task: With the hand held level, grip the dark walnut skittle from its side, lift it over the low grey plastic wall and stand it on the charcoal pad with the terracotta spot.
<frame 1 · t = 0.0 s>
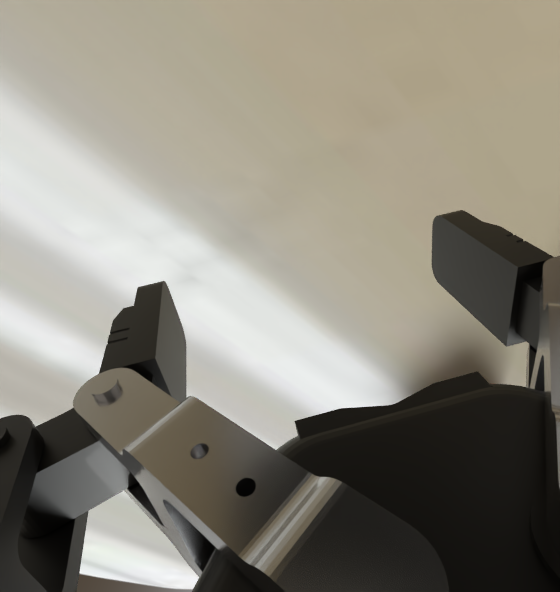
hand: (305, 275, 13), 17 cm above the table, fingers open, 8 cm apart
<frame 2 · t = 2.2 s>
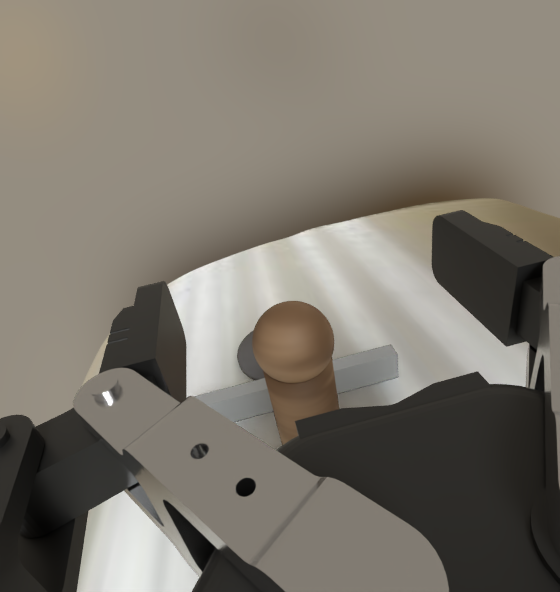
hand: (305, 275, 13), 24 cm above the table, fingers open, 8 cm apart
low wall: (297, 398, 41), on the table
skittle: (317, 463, 35), on the table
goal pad: (282, 351, 48), on the table
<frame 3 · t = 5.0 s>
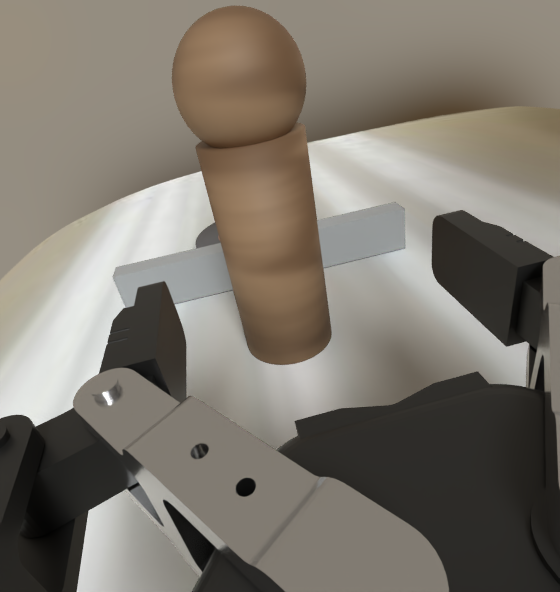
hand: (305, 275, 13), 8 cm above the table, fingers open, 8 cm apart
low wall: (268, 275, 31), on the table
skittle: (289, 336, 24), on the table
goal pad: (254, 236, 37), on the table
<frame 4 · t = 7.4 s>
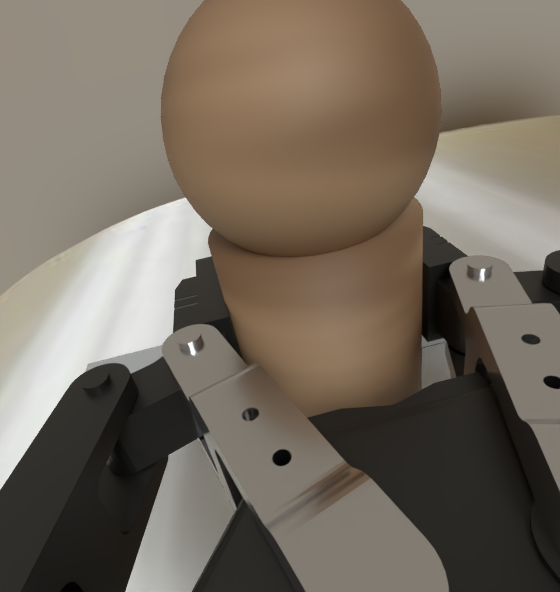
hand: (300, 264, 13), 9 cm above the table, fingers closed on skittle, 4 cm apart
low wall: (304, 368, 22), on the table
skittle: (350, 500, 15), on the table, touching gripper
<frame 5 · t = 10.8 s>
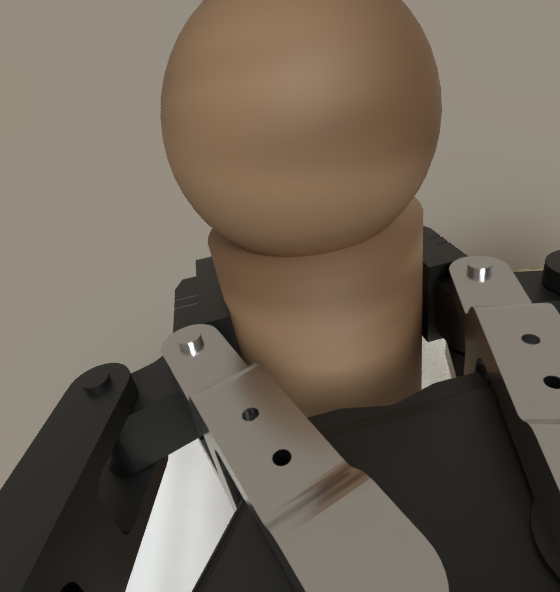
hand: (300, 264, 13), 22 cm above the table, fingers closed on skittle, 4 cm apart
skittle: (350, 500, 15), point 13 cm above the table, touching gripper
when the fingers open (10 cm above the table, at t = 14.0 s): skittle drops 1 cm, resting on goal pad.
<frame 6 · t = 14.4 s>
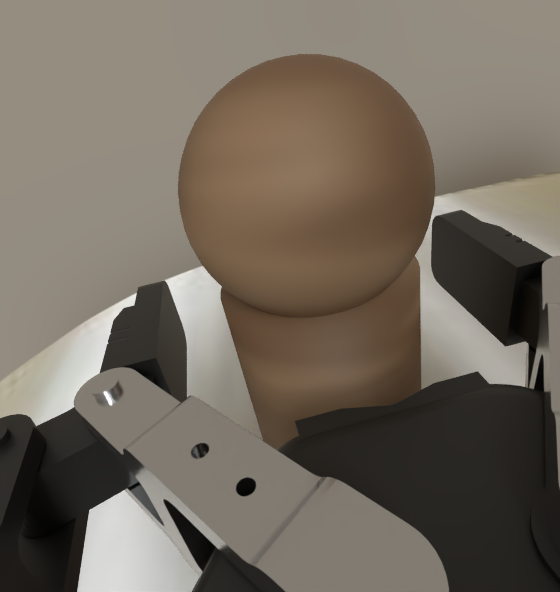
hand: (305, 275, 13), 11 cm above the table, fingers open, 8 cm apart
skittle: (355, 524, 16), point 1 cm above the table, touching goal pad
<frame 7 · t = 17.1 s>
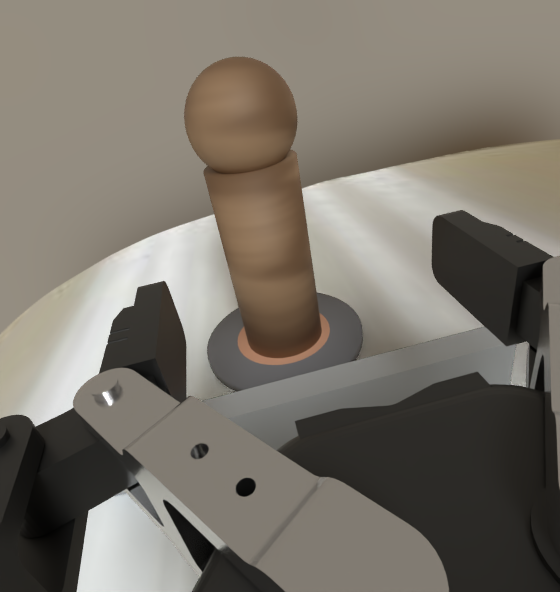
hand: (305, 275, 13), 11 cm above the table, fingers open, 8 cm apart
low wall: (315, 428, 21), on the table
skittle: (284, 333, 27), point 1 cm above the table, touching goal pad
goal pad: (284, 340, 28), on the table
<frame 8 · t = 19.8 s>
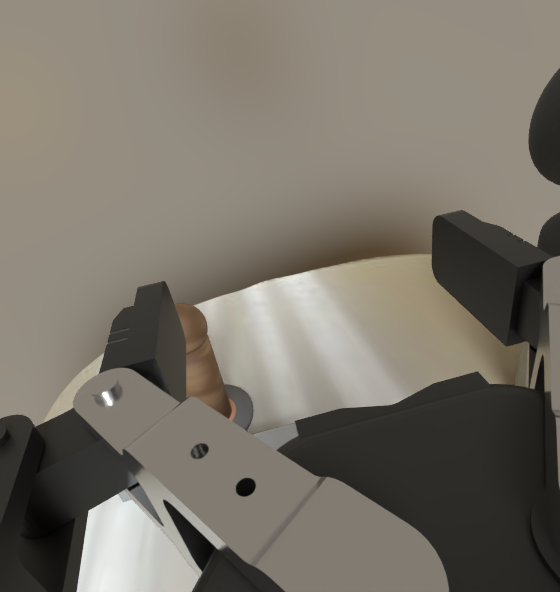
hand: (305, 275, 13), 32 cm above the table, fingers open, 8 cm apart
low wall: (217, 469, 45), on the table
skittle: (212, 414, 51), point 1 cm above the table, touching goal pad
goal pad: (212, 417, 52), on the table
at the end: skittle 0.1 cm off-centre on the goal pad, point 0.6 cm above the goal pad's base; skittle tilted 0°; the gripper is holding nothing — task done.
